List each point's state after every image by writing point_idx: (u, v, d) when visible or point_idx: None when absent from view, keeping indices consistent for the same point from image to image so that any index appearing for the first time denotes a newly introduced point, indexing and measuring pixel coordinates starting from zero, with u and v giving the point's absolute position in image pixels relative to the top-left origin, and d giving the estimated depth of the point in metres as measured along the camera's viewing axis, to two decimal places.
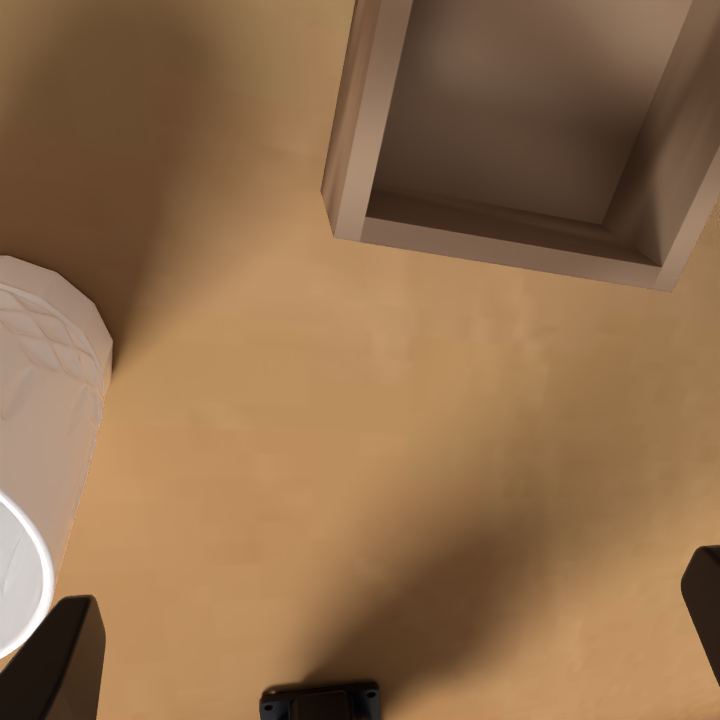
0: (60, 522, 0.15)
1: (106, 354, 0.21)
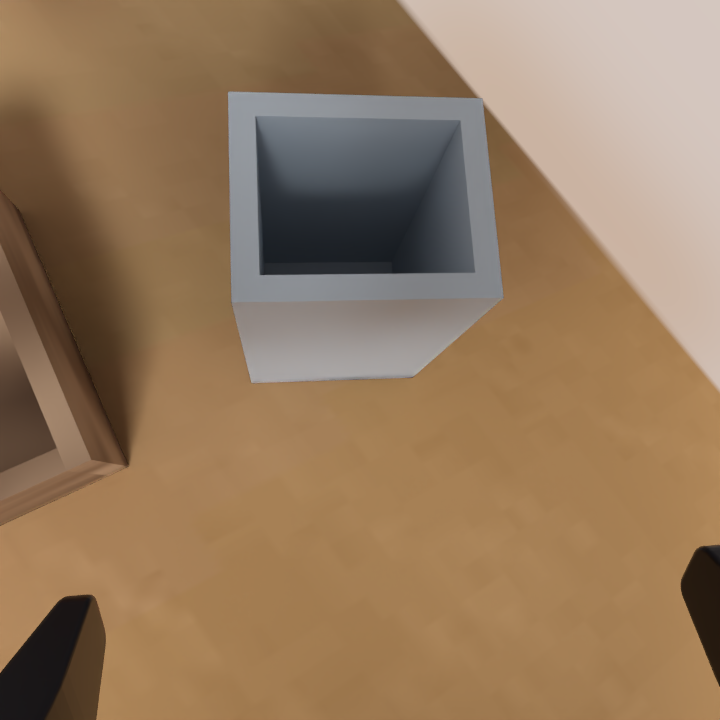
0: None
1: None
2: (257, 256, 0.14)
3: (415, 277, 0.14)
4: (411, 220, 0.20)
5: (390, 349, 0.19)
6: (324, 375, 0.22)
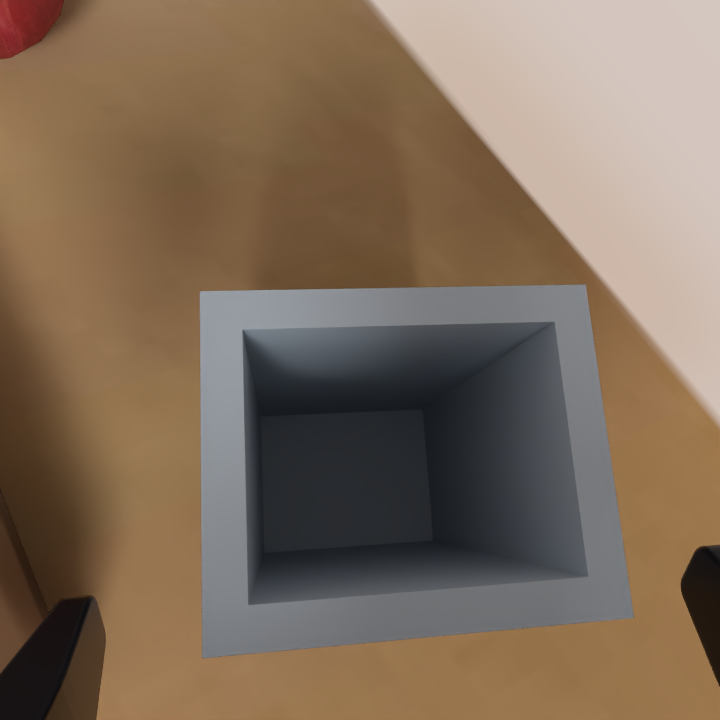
0: None
1: None
2: (245, 573, 0.08)
3: (496, 592, 0.09)
4: (456, 387, 0.15)
5: None
6: None
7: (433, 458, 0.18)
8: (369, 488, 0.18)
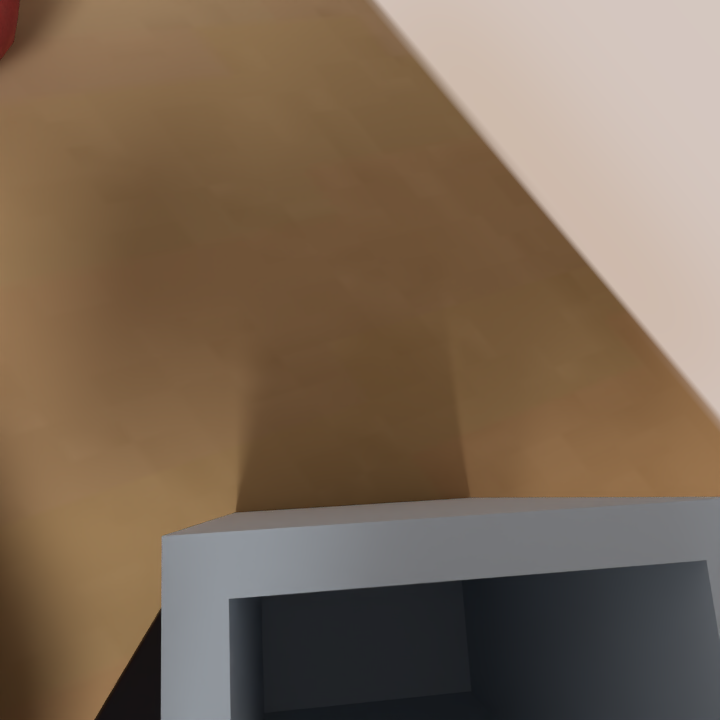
0: None
1: None
2: None
3: None
4: None
5: None
6: None
7: (472, 594, 0.14)
8: (392, 626, 0.15)
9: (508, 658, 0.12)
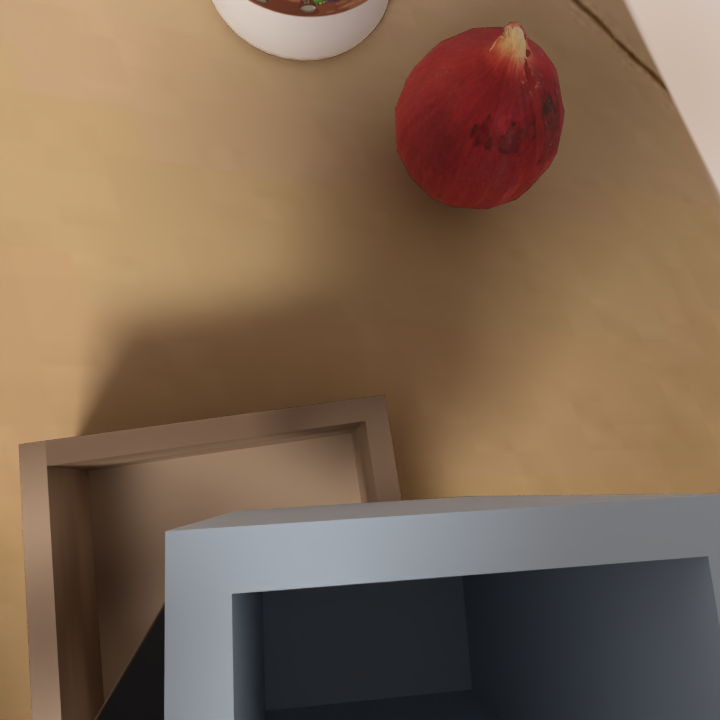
0: None
1: None
2: None
3: None
4: None
5: None
6: None
7: (473, 592, 0.14)
8: (393, 625, 0.15)
9: (509, 656, 0.12)
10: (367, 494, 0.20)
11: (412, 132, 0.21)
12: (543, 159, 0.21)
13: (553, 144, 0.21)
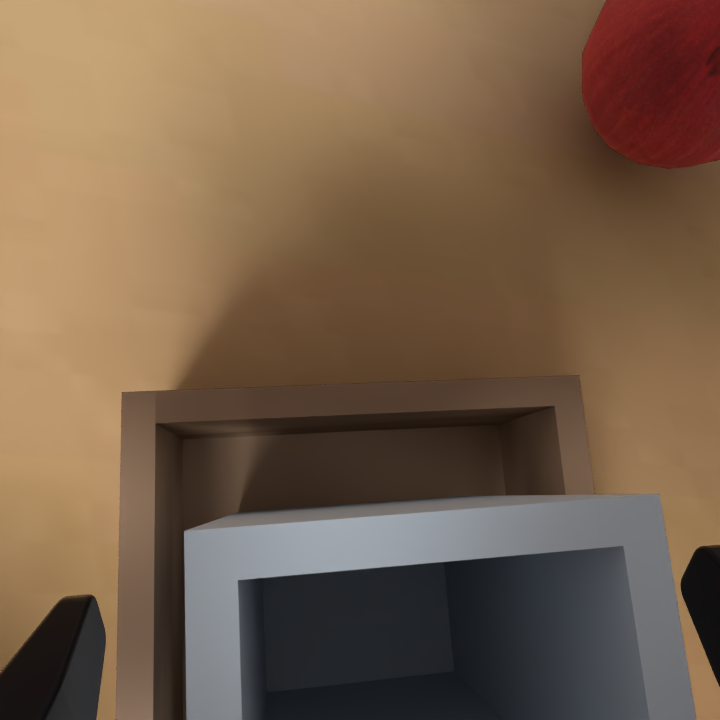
0: None
1: None
2: None
3: None
4: None
5: None
6: None
7: (454, 583, 0.16)
8: (381, 614, 0.16)
9: (483, 638, 0.14)
10: None
11: (620, 58, 0.17)
12: None
13: None
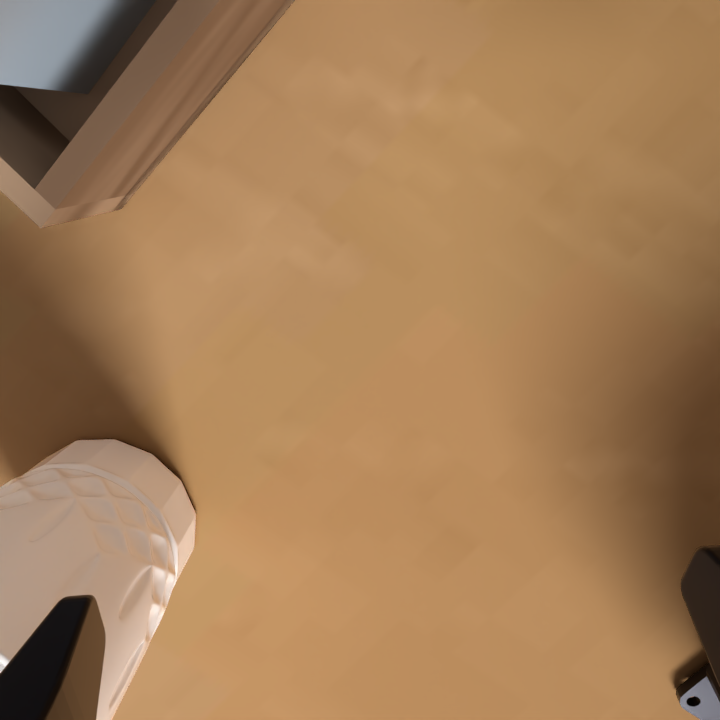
0: (8, 612, 0.15)
1: (135, 466, 0.23)
2: None
3: None
4: None
5: None
6: (121, 18, 0.17)
7: None
8: None
9: None
10: None
11: None
12: None
13: None
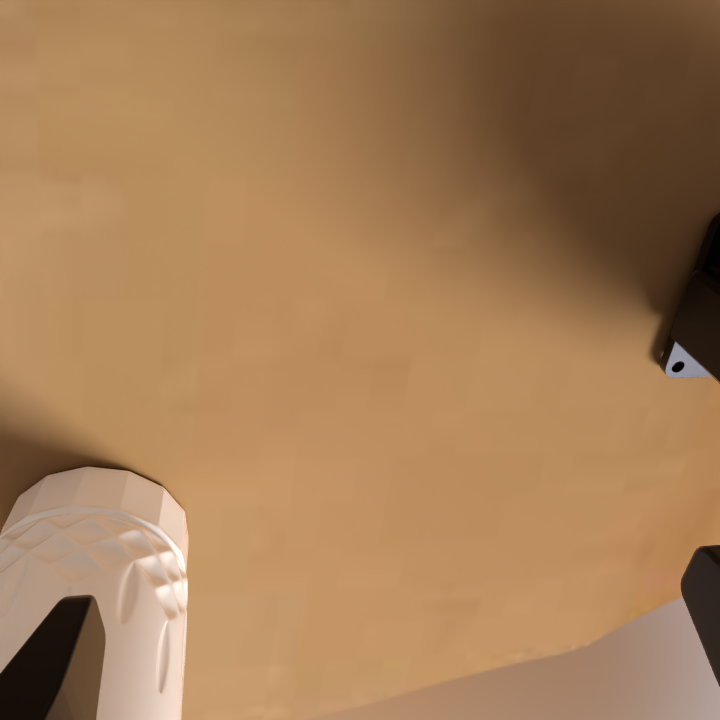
0: None
1: (75, 488, 0.23)
2: None
3: None
4: None
5: None
6: None
7: None
8: None
9: None
10: None
11: None
12: None
13: None
